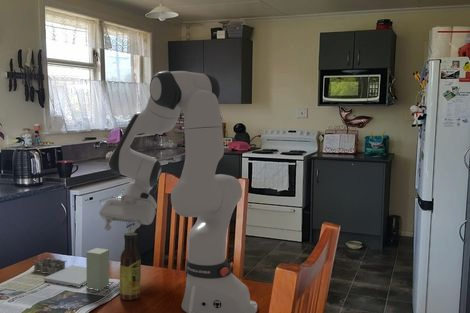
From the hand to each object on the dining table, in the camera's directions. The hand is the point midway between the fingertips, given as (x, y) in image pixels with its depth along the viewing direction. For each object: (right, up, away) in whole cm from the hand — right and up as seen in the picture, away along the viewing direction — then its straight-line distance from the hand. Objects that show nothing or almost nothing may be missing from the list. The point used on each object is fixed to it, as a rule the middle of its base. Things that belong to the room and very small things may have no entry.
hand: (118, 231), depth 159 cm
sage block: (-4, -17, -9) cm, 20 cm away
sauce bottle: (+8, -18, -17) cm, 26 cm away
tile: (-14, -16, -2) cm, 21 cm away
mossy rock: (-26, -15, +5) cm, 30 cm away
